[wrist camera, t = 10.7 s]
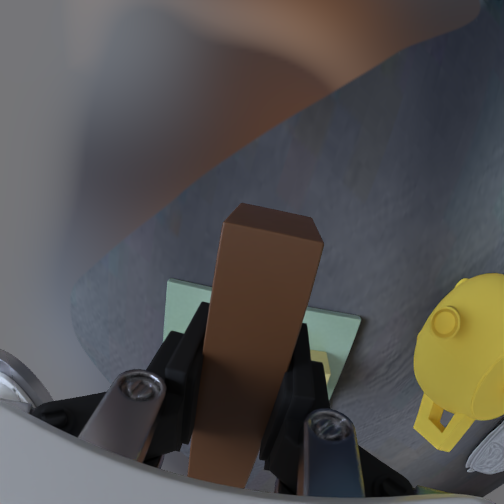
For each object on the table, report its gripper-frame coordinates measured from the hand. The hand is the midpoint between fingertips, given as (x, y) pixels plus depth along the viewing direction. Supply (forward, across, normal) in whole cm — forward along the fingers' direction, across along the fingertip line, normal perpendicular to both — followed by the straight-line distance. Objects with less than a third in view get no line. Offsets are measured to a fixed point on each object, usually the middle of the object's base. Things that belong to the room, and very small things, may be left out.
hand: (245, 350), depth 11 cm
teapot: (+14, -20, +4) cm, 25 cm away
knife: (0, 0, +5) cm, 5 cm away
